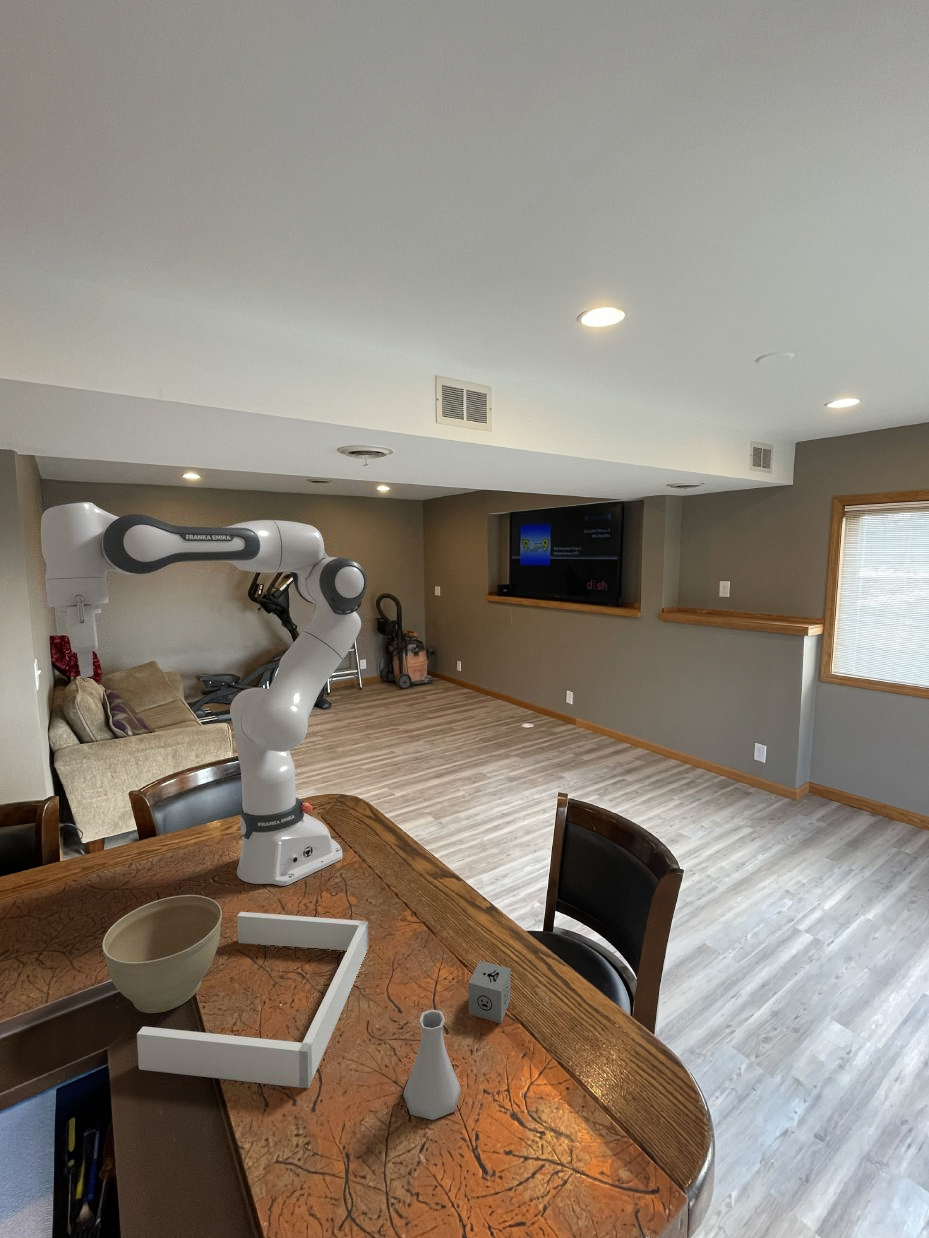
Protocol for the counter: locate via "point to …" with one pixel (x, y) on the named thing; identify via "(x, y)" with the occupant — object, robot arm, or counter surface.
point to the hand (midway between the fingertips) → (86, 673)
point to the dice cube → (490, 991)
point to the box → (255, 1054)
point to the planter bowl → (163, 950)
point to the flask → (432, 1073)
